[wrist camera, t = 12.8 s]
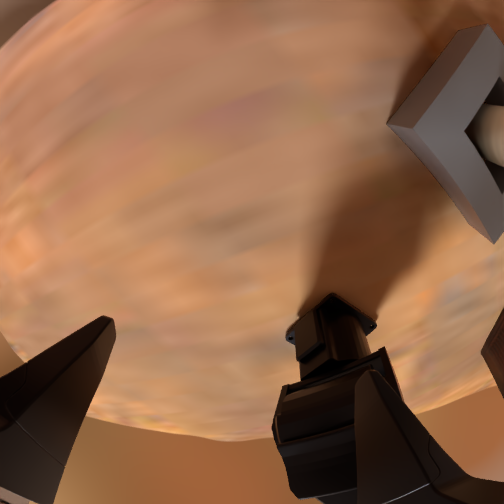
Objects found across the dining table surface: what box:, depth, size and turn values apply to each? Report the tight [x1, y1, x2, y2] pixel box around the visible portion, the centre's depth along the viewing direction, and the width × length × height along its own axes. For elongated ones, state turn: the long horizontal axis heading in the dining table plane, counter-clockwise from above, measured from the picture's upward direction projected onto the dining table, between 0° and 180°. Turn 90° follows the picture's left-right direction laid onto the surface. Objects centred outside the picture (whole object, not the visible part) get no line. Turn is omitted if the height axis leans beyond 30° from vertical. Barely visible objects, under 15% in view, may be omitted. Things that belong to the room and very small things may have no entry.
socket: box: [387, 24, 504, 244], centre depth 13 cm, size 12×12×4 cm
